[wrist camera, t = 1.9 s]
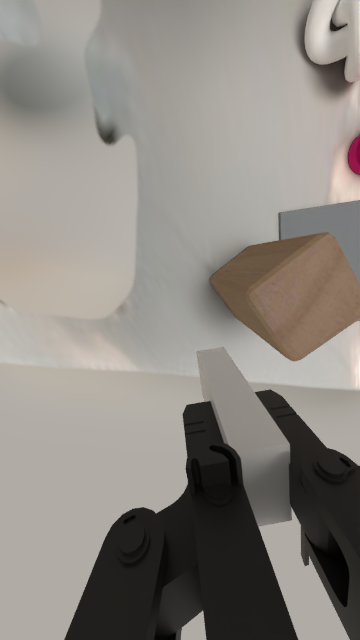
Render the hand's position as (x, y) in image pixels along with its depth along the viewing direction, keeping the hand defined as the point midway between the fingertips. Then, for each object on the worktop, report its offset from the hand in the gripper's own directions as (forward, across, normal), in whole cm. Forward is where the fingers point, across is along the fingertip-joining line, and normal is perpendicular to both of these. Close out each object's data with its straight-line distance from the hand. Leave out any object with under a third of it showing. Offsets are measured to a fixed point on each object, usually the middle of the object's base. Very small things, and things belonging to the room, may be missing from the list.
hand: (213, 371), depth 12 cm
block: (+30, +12, 0) cm, 32 cm away
